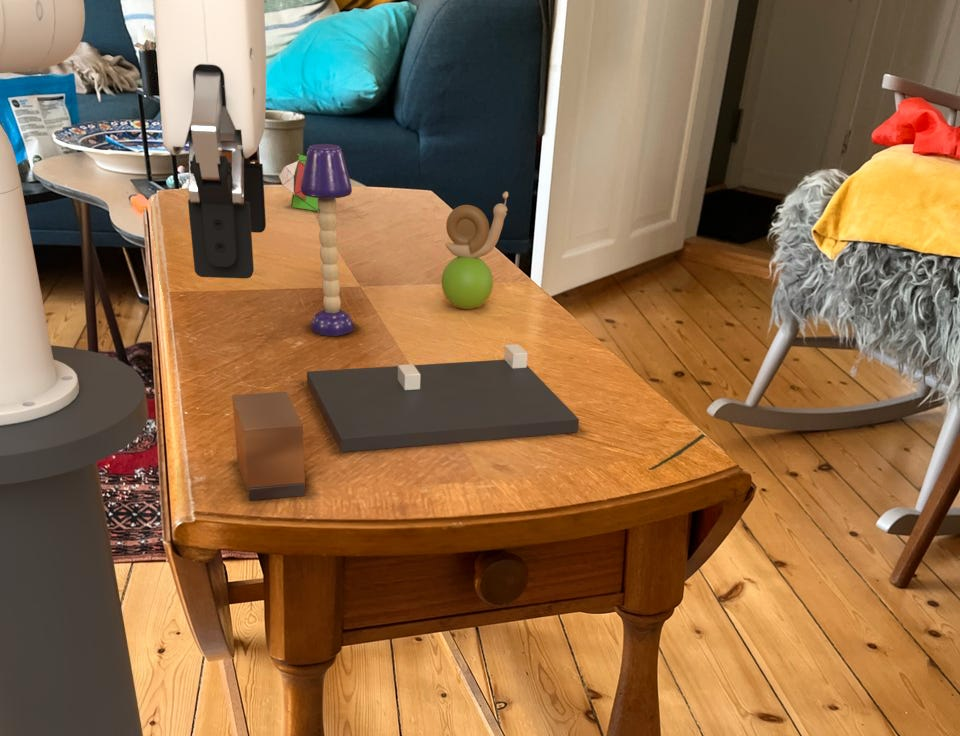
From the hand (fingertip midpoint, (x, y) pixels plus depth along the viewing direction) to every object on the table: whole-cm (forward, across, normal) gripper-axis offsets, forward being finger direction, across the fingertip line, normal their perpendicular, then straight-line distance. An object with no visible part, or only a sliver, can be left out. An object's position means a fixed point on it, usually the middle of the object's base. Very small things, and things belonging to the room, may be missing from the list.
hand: (233, 251), depth 62 cm
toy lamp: (+18, -37, +5) cm, 42 cm away
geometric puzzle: (+18, -86, +1) cm, 88 cm away
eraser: (+17, -4, +1) cm, 18 cm away
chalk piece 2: (+16, -26, +22) cm, 37 cm away
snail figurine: (+18, -45, +19) cm, 52 cm away
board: (+17, -18, +14) cm, 29 cm away
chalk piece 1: (+16, -20, +12) cm, 28 cm away
